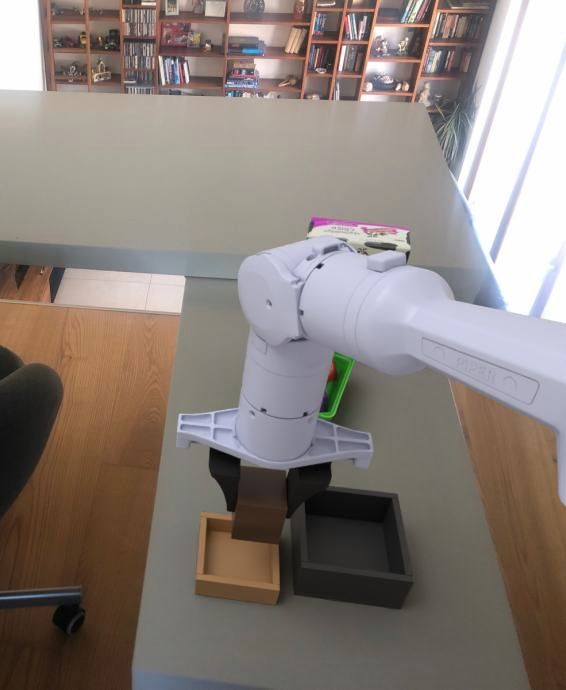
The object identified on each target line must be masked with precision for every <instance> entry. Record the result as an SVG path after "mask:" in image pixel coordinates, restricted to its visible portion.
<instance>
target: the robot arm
mask: <svg viewBox="0 0 566 690" xmlns="http://www.w3.org/2000/svg"><path fill="white" fill-rule="evenodd" d="M237 273H238V274H237V293H238V300H239V303H240V307H241V310H242V313H243V315H244V317H245V320H246V322H247V323H248V325H249V331H248V338H247V345H246V352H245V359H244V366H243V373H242V380H241V388H240V394H239V400H238V407H234V408H227V409H221V410H214V411H207V412H201V413H178V419H177V427H176V441H175V448H177V449H182V450H183V449H185V450H188V449H190V448H191V444H194V445H195V444H197V445H204V446H207V447H208V448H209V451H208V452H209V453H208V471H209V474H210V476H211V477H212V479H214V480H215V481H216V483H217V484H218V485H219V487H220V489H221V492H222V494H223V497H224V499H225V504H226V512H229V513H232V512H234V511H235V506H236V492H237V488H238V484H239V481H240V467H241V466H242V465H241V461H242V460H243V461H245V462H248V463H251V464H252V465H255V466H257V467H260V468H268V469H277V470H288V472H287V474H286V483H287V507H288V510H287V514H286V518H285V520H290V518H291V517H292V515H293V514H294V513H295V511H296V510H297V509H298V508H299V506H300V505H301V504H302V503H303V502H304V501H305V500H307V499H308V498H309V497H311V496H312V495H314V494H316V493H318V492H320V491H323V490H326V489H327V488H328V486H330V484H331V482H332V479H333V473H332V472H333V471H332V463H333V462H336V461H342V460H345V461H352V465H353V466H354V467H355V468H358V469H369V467H370V464H371V462H372V458H373V456H374V453H375V450H374V444H373V438H372V433H371V432H369V431H360V430H354V429H353V428H352V429H351V428H348V427H346V426H341V425H340V424H336V423H333V422H331V421H325V420H322V419H319V418H318V415H319V411H320V407H321V403H322V399H323V395H324V391H325V387H326V383H327V379H328V375H329V371H330V367H331V363H332V359H333V356H334V352H337V353H340V354H342V355H344V356H346V357H349V358H351V359H353V360H355V362H358V363H360V364H363V365H364V366H367V367H369V368H371V369H374V370H376V371H378V372H380V373H382V374H385V375H388V376H392V377H406V376H410V375H413V374H417V373H418V372H420V371H422V370H423V369H425V368H428V369H429V370H432V371H434V372H436V373H438V374H440V375H443V376H444V377H446V378H448V379H450V380H452V381H454V382H456V383H458V384H460V385H462V386H464V387H466V388H468V389H470V390H472V391H474V392H475V393H478V394H480V395H481V396H484V397H485V398H488V399H490V400H492V401H494V402H496V403H498V404H499V405H502V406H504V407H506V408H507V409H510V410H512V411H514V412H516V413H518V414H520V415H522V416H523V417H525V418H528V419H529V420H530V419H531V420H532V421H534V422H536V423H538V424H540V425H542V426H544V427H546V428H548V429H549V430H550V431H552V432H553V433H554V436H555V444H556V445H555V446H556V466H557V467H556V468H557V490H558V493H557V494H558V499H559V500H560V502H561V503H562V505H564V507H565V508H566V322H561V321H556V320H551V319H546V318H542V317H537V316H532V315H527V314H522V313H517V312H512V311H507V310H503V309H498V308H493V307H488V306H483V305H478V304H474V303H469V302H463V301H459V300H456V299H455V295H454V293H453V291H452V288H451V287H450V285H449V283H448V282H447V281H446V280H445V279H444V277H442V276H441V275H440V274H438V273H437V272H436V271H433V270H430V269H426V268H422V267H418V266H414V265H411V264H410V265H409V264H407V265H406V255H405V254H404V253H401V252H396V251H392V250H388V251H384V252H381V253H377V254H374V255H370V256H367V255H363V254H359V253H357V251H356V250H355V249H354V248H353V247H352V246H351V245H349V244H348V243H346V242H344V241H341V240H339V239H338V238H336V237H333V236H330V235H322V236H318V237H314V238H311V239H307V240H306V239H303V240H300V241H295V242H292V243H289V244H285V245H281V246H278V247H274V248H270V249H266V250H262V251H259V252H257V253H255V254H253V255H249V256H247V257H246V258H244V260H243V261H242V262H241V264H240V266H239V269H238V272H237Z"/></svg>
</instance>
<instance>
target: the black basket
mask: <svg viewBox="0 0 566 690" xmlns="http://www.w3.org/2000/svg"><path fill="white" fill-rule="evenodd" d="M402 514H403V513H402V509H401V503H400V499H399V494H398V493H395V492H387V491H386V492H385V491H380V490H379V491H378V490H371V489H361V488H352V487H343V486H335V485H329V486H328V488H327V489H326V490H323V491H320V492H318V493H316V494H314V495H312V496H311V497H309V498H308V499H307V500H305V501H304V502H303V503H302V504H301V505H300V506H299V508H298V509H297V510H296V511H295V513H294V514H293V515H292V517H291V518H290V519H289V521H290V544H291V545H290V546H291V568H292V569H291V570H292V571H291V573H292V594H293V596H300V597H308V598H314V599H315V598H316V599H322V600H323V599H324V600H330V601H337V602H344V603H352V604H357V605H358V604H359V605H365V606H374V607H381V608H388V609H394V610H401V609H402V607H403V606H404V603H405V601H406V599H407V598H408V595H409V593H410V591H411V589H412V587H413V585H414V584H415V579H414V574H413V569H412V563H411V559H410V553H409V547H408V542H407V536H406V531H405V526H404V520H403V515H402Z"/></svg>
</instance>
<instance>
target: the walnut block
mask: <svg viewBox="0 0 566 690" xmlns="http://www.w3.org/2000/svg"><path fill="white" fill-rule="evenodd" d="M286 478H287V469H269V468H264V467H260V466H249V465H241V467H240V481H239V484H238V488H237V492H236V506H235V511H234V512H231V515H232V526H231V539H236V540H244V541H252V542H260V543H268V544H276V545H279V546H280V541H281V538H282V533H283V530H284V526H285V521H286V514H287V510H288V507H287V483H286Z"/></svg>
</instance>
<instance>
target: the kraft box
mask: <svg viewBox="0 0 566 690" xmlns="http://www.w3.org/2000/svg"><path fill="white" fill-rule="evenodd" d="M231 526H232V514H223V513H216V512H208V511H201V512H200V519H199V527H198V528H199V529H198V542H197V555H196V568H195V580H194V592H193V593H194V594H195V595H199V596H207V597H213V598H214V597H215V598H220V599H221V598H222V599H227V600H236V601H243V602H251V603H257V604H264V605H271V606H277V604H278V599H279V597H280V591H281V585H280V584H281V579H280V573H281V572H280V544H279V545H276V544H268V543H260V542H252V541H244V540H236V539H231Z"/></svg>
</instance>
